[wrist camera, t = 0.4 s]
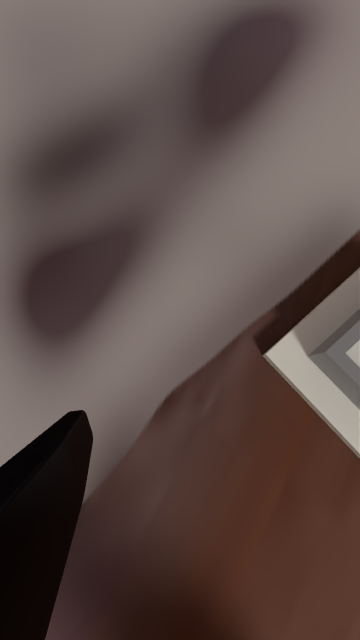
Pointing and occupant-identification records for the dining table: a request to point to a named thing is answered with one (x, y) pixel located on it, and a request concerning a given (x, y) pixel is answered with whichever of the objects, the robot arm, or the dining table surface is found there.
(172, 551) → the dining table surface
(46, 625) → the robot arm
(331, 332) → the shaft mount
